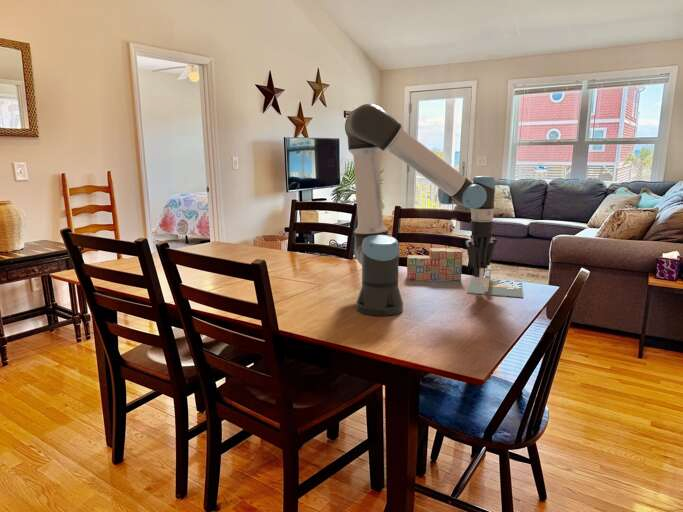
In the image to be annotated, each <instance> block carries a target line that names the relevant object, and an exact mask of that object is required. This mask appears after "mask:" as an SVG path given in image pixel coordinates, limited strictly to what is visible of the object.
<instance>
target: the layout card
mask: <svg viewBox="0 0 683 512" xmlns="http://www.w3.org/2000/svg"><path fill="white" fill-rule="evenodd" d="M491 279H492V278H490V286H489V288H488V292H484V290H485V278H483V286H477V285H475V277H471V279H470V282H469V286H468V289H467V292H466V293H467V294H469V295H470V294H471V295H479V294H481V295H484V296H491V295H496V296H495V297H503V296H508V297H507V298H515V297H520V298H519V299H524V295H523V283H522V281H518V280H514V281H515V282H521V283H519V284H517V285H522V286H519V287H522V288H518V289H517V288H516V287H508V286H496V285H497V284H501V283H504V282H501V283H499V282H500V281H501V280H502V279H496V280H497V281H493V280H495V279H494V278H493V279H492V280H491ZM510 281H511V280H507V281H505V282H510ZM510 284H513V282H512V283H510ZM512 286H513V285H512ZM507 288H514V289H507ZM481 295H480V296H481Z"/></svg>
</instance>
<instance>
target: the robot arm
mask: <svg viewBox="0 0 683 512" xmlns="http://www.w3.org/2000/svg"><path fill="white" fill-rule="evenodd" d="M344 132H345V134H346V137H347V147H348V152H349V153H350V154H352V156H353V169H354V183H355V197H356V198H355V199H356V200H355V201H356V212H357V227H356V228H355V229H354V231H353V232H354V233H353V234H354V243H353V244H354V245H353V255H354V258H355V259H356V261H357V262H358V263H359V264H360V265H361V287H360V291H359V294H358V297H357V299H356V307H355V308H356V310H357V312H359V313H361V314H364V315H368V316H374V317H375V316H377V317H380V316H381V317H385V316H388V317H389V316H395V315H398V314H400V313H402V312H403V310H404V302H403V298H402V295H401V292H400V289H399V260H400V255H399V254H400V244H399V241H398V240H397V239H396V238H395V237H393V236H389V230H388V229H389V228H388V227H387V226H385V224H384V217H383V216H384V215H383V199H382V180H381V167H380V166H381V165H380V164H381V163H380V152H382V151H383V152H385V151H389V152H390V153H391V154H393V156H395V157H397V158H398V159H399V160H401V161H402V162H403V163H405V164H406V165H407V166H409V167H410V168H411V169H413V171H415V172H417V173H419V174H420V175H421V176H422V177H424V178H425V179H426V180H428V181H429V182H430V183H432V184H433V185H435V186H436V187H437V188H438V189H437V198H438V202H439V203H440V204H441V205H449V206H450V205H456V206H459V207H464V208H467V209H470V210H471V213H470V216H471V217H470V219H471V221H470V232H471V235H470V238H469V239H468V240H465V241H464V244H465V246H466V251H467V257H468V263H469V266H470V267H472V268H473V277H474V278H475V285H477V286H483V279H484V277H485V274H486V269H487V267H488V266H489V265H490V264H491V262H492V256H493V253H494V249H495V245H496V243H497V242H498V241H497V240H498V239H496V238H494V237H493V235H492V232H493V230H494V229H493V228H494V222H493V220H494V211H495V207H494V206H495V196H496V195H495V194H496V193H495V192H496V179H495V177H494V176H491V175H479V176H478V175H477V176H476V175H475V176H473V178H472V181H471V180H470V179H468V178H467V177H465V176H464V175H463V174H462V173H461V172H459V171H458V170H456V169H455V168H454V167H453V166H451V165H450V164H449V163H447V162H446V161H445V160H444V159H443V158H441V157H439V156H438V155H437V154H435V152H433V151H432V150H431V149H430V148H427V147H426V146H425V145H424V144H422V143H421V142H420V141H419V140H417V139H416V138H414V137H413V136H412V135H411V134H410V133H408V132H407V131H405V130H404V127H403V124H402V123H401V122H399V121H398V120H397V119H396V118H394V117H393V116H392V115H391V114H389V113H388V112H387V111H386V110H384V108H383V107H381V106H379V105H376V104H375V103H365V104H361V105H360V106H358V107H357V108H355V109H353V110H352V111H350V113H349V114H348V116H347V117H346V119H345V122H344Z"/></svg>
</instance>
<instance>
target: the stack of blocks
mask: <svg viewBox="0 0 683 512" xmlns="http://www.w3.org/2000/svg"><path fill="white" fill-rule="evenodd" d="M406 258H407V261H406V262H407V263H406V278H407V280H408V281H427V280H430V281H431V280H461V281H462V269H463V251H462V249H459V248H452V247H451V248H450V247H449V248H448V247H447V248H445V247H444V248H435V247H434V248H433V247H432V248H431V247H430V248H429V254H428V255H421V254H420V255H418V254H417V255H416V254H415V255H413V254H411V255H410V254H409V255H408V254H407V257H406ZM413 279H414V280H413Z"/></svg>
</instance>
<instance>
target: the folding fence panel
mask: <svg viewBox="0 0 683 512" xmlns="http://www.w3.org/2000/svg"><path fill="white" fill-rule="evenodd" d="M491 270H492V269H487V268H485V275H484V279H485V290H484V292H488V288H489V286H490V279H491V273H492V271H491Z"/></svg>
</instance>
